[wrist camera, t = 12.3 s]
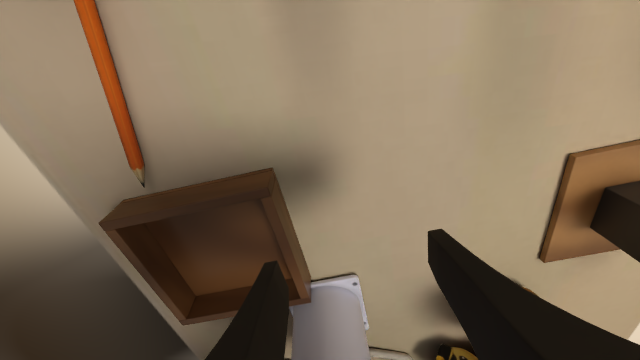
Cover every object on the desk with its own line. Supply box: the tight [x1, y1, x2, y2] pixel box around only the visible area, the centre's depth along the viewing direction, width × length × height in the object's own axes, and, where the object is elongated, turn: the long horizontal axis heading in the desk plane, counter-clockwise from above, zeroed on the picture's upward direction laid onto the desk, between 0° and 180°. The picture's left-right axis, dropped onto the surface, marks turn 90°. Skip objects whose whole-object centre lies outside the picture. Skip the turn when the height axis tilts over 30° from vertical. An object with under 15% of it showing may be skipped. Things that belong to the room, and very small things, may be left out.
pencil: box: [74, 0, 145, 188], centre depth 15 cm, size 1×19×1 cm, turn 177°
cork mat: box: [540, 140, 640, 263], centre depth 23 cm, size 12×11×1 cm
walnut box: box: [99, 168, 311, 325], centre depth 22 cm, size 13×13×3 cm
